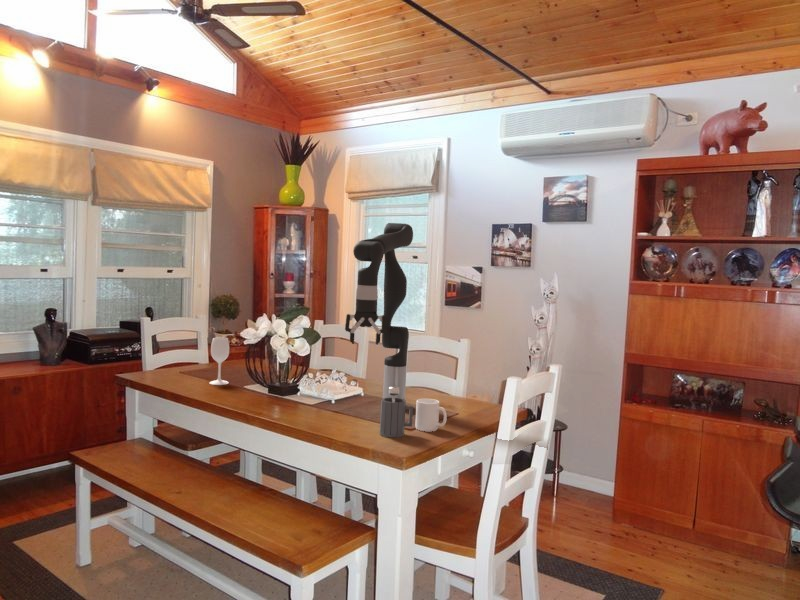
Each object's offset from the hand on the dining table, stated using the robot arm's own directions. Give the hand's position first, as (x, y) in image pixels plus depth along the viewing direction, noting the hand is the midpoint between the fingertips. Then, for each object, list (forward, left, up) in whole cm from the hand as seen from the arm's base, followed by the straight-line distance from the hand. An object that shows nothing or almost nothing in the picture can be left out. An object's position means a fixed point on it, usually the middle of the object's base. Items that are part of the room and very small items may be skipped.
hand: (364, 343), depth 207 cm
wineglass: (-72, -60, -30) cm, 98 cm away
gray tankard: (+8, +11, -30) cm, 33 cm away
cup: (+2, +25, -30) cm, 39 cm away
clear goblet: (+8, +10, -26) cm, 29 cm away
